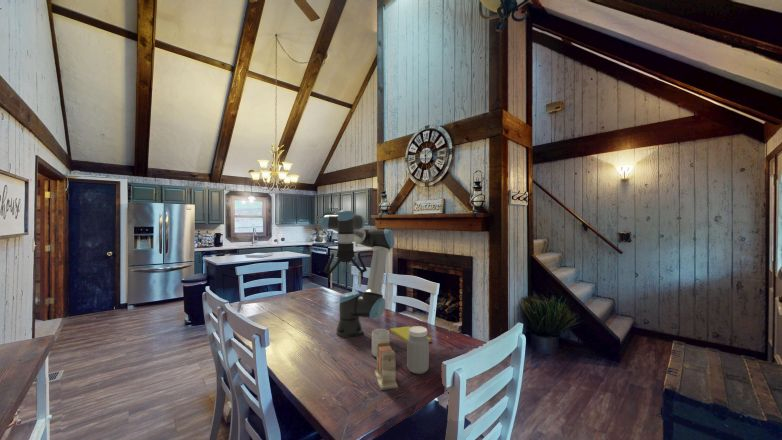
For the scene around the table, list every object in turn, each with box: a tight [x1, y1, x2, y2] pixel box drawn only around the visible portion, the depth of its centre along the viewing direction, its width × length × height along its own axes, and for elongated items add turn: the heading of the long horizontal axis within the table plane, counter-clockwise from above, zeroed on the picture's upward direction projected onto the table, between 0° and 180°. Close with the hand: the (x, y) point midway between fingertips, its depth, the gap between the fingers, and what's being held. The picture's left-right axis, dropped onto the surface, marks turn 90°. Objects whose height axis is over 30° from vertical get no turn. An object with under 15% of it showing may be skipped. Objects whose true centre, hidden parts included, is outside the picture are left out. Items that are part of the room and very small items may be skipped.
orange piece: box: [379, 345, 394, 373], centre depth 122 cm, size 5×4×9 cm
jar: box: [406, 325, 430, 375], centre depth 131 cm, size 10×10×18 cm
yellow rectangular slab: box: [389, 325, 432, 343], centre depth 167 cm, size 12×2×24 cm
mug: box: [371, 328, 391, 358], centre depth 146 cm, size 12×9×11 cm
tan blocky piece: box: [374, 340, 399, 391], centre depth 122 cm, size 14×7×14 cm, turn 13°
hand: (345, 286), depth 140 cm, fingers open, 13 cm apart
